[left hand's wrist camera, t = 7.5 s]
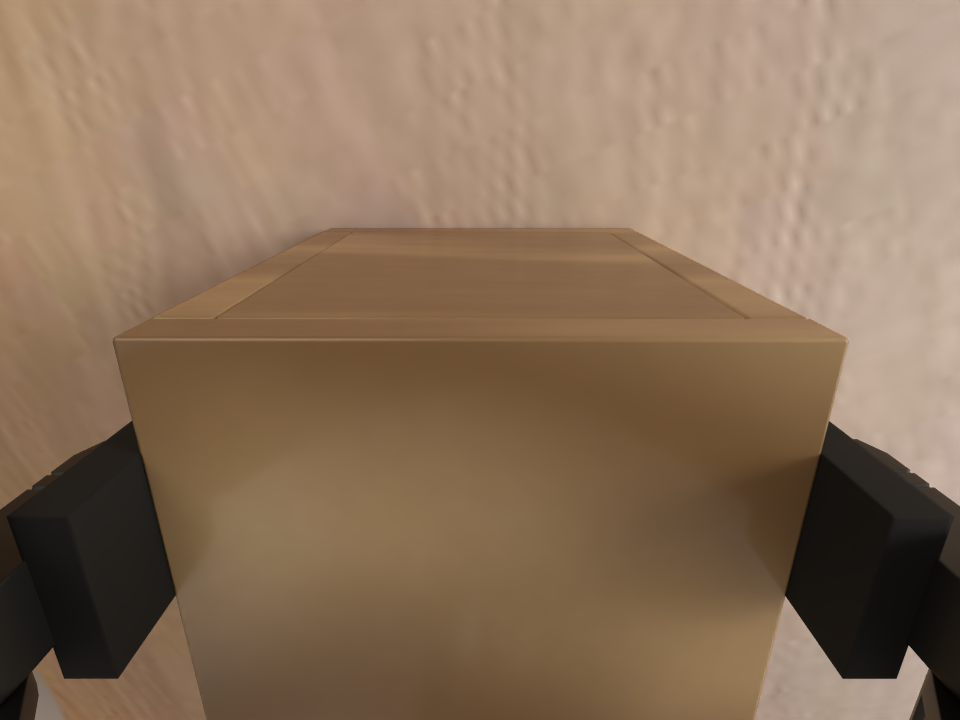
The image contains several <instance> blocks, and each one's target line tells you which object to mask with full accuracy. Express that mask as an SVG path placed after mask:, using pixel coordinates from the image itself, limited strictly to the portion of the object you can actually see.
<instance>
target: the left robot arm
mask: <svg viewBox="0 0 960 720" xmlns="http://www.w3.org/2000/svg"><path fill="white" fill-rule="evenodd" d="M51 473H52V474H51V475H47V476H45V477H44V478H43V479H41V480H40V481H39V482H37V483H36V484H34V485H33V486H32V490H26V491H25V492H24V493H22V494H21V495H20V496H18V497H17V498H16V499H14V500H13V501H11V502H10V503H9V504H7V505H6V506H5V507H3V508H2V509H1V510H0V720H34V719H35V713H36V707H37V702H38V696H39V695H38V688H37V683H36V680H35V678H34V675H33V672H32V670H33V669H34V668H35V667H36V666H37V665H38V664H39V662H40V661H41V660H42V659H43V658H44V657H45V656H46V654H47V653H48V652H49V651H50V650H51V649H52V648H54V651H55V654H56V657H57V660H58V662H59V665H60V668H61V671H62V674H63V676H64V679H118V678H119V676H120V675H121V673H122V672H123V670H124V669H125V668H126V666H127V665H128V663H129V662H130V660H131V659H132V657H133V656H134V655H135V653H136V652H137V650H138V649H139V647H140V646H141V644H142V643H143V642H144V640H145V639H146V637H147V636H148V634H149V633H150V631H151V630H152V629H153V627H154V626H155V624H156V623H157V621H158V620H159V618H160V617H161V616H162V614H163V613H164V611H165V610H166V608H167V607H168V605H169V604H170V603H171V601H172V600H173V598H174V597H175V595H176V594H175V590H174V586H173V582H172V578H171V574H170V570H169V566H168V562H167V558H166V554H165V550H164V546H163V542H162V538H161V534H160V530H159V526H158V522H157V518H156V514H155V510H154V505H153V501H152V497H151V493H150V489H149V485H148V481H147V477H146V473H145V469H144V465H143V461H142V457H141V453H140V449H139V445H138V441H137V437H136V433H135V429H134V425H133V421H131V422H130V423H129V424H127V425H126V426H125V427H123V428H122V429H121V430H119V431H118V432H117V433H115V434H114V435H113V436H111V437H110V438H109V439H108V440H106V441H104V442H101V443H99V444H97V445H95V446H93V447H91V448H89V449H86V450H84V451H82V452H80V453H78V454H76V455H74V456H72V457H71V458H70V459H68V460H67V461H66V462H64V463H63V464H62V465H60V466H59V467H58V468H56V469H55V470H53V471H52V472H51ZM785 596H786V597H787V599H788V600H789V602H790V603H791V605H792V606H793V607H794V609H795V610H796V612H797V613H798V615H799V616H800V618H801V619H802V620H803V622H804V623H805V625H806V626H807V628H808V629H809V631H810V632H811V633H812V635H813V636H814V638H815V639H816V641H817V642H818V644H819V645H820V646H821V648H822V649H823V651H824V652H825V654H826V655H827V657H828V658H829V659H830V661H831V662H832V664H833V665H834V667H835V668H836V670H837V671H838V672H839V674H840V675H841V677H842V678H843V679H897V676H898V673H899V670H900V668H901V665H902V662H903V659H904V656H905V654H906V651H907V648H908V645H909V646H910V647H911V648H912V649H913V650H914V652H915V653H916V654H917V655H918V656H919V657H920V658H921V660H922V661H923V662H924V663H925V664H926V665H927V666H928V668H929V670H928V672H927V675H926V678H925V680H924V683H923V685H922V688H921V691H920V693H919V696H918V699H917V701H916V704H915V706H914V709H913V712H912V714H911V717H910V719H909V720H960V506H959V505H957V504H956V503H955V502H953V501H952V500H950V499H949V498H948V497H946V496H945V495H944V494H942V493H941V492H939V491H938V490H937V489H935V488H930V487H929V483H927V482H926V481H924V480H923V479H922V478H920V477H919V476H918V475H916V474H915V473H910V470H909V469H908V468H907V467H905V466H904V465H903V464H901V463H900V462H898V461H897V460H896V459H894V458H893V457H892V456H890V455H889V454H888V453H886V452H883V451H881V450H879V449H877V448H875V447H873V446H870V445H868V444H866V443H864V442H862V441H860V440H858V439H852V438H851V437H849V436H848V435H847V434H845V433H844V432H843V431H841V430H840V429H839V428H837V427H836V426H835V425H833V424H832V423H831V422H830V421H829V423H828V427H827V431H826V435H825V439H824V443H823V447H822V450H821V454H820V458H819V462H818V466H817V470H816V474H815V478H814V482H813V486H812V490H811V494H810V498H809V502H808V506H807V510H806V514H805V518H804V522H803V526H802V530H801V534H800V538H799V542H798V546H797V550H796V554H795V558H794V562H793V566H792V570H791V574H790V578H789V582H788V586H787V590H786V594H785Z"/></svg>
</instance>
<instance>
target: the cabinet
mask: <svg viewBox="0 0 960 720" xmlns="http://www.w3.org/2000/svg"><path fill="white" fill-rule="evenodd" d="M113 345H114V349H115V353H116V357H117V361H118V365H119V369H120V373H121V377H122V381H123V385H124V389H125V393H126V397H127V401H128V405H129V409H130V413H131V417H132V421H133V425H134V429H135V433H136V437H137V441H138V445H139V449H140V453H141V457H142V461H143V465H144V469H145V473H146V477H147V481H148V485H149V489H150V493H151V497H152V501H153V505H154V510H155V514H156V518H157V522H158V526H159V530H160V534H161V538H162V542H163V546H164V550H165V554H166V558H167V562H168V566H169V570H170V574H171V578H172V582H173V586H174V590H175V594H176V598H177V602H178V606H179V610H180V614H181V618H182V622H183V626H184V630H185V634H186V638H187V642H188V646H189V650H190V654H191V658H192V662H193V666H194V670H195V674H196V678H197V682H198V686H199V690H200V694H201V698H202V703H203V707H204V711H205V715H206V719H207V720H754V718H755V714H756V710H757V706H758V702H759V698H760V694H761V690H762V686H763V682H764V678H765V674H766V670H767V666H768V662H769V658H770V654H771V650H772V646H773V642H774V638H775V634H776V630H777V626H778V622H779V618H780V614H781V610H782V606H783V602H784V598H785V594H786V590H787V586H788V582H789V578H790V574H791V570H792V566H793V562H794V558H795V554H796V550H797V546H798V542H799V538H800V534H801V530H802V526H803V522H804V518H805V514H806V510H807V506H808V502H809V498H810V494H811V490H812V486H813V482H814V478H815V474H816V470H817V466H818V462H819V458H820V454H821V450H822V447H823V443H824V439H825V435H826V431H827V427H828V423H829V419H830V415H831V411H832V407H833V403H834V399H835V395H836V391H837V387H838V383H839V379H840V375H841V371H842V367H843V363H844V359H845V355H846V351H847V347H848V339H847V338H846V337H844V336H842V335H840V334H838V333H836V332H834V331H833V330H831V329H829V328H827V327H825V326H823V325H821V324H819V323H817V322H815V321H813V320H810V319H806V318H805V317H803V316H801V315H799V314H797V313H796V312H794V311H792V310H790V309H788V308H786V307H784V306H782V305H780V304H778V303H776V302H774V301H772V300H770V299H768V298H766V297H764V296H762V295H760V294H758V293H756V292H754V291H752V290H750V289H748V288H746V287H744V286H742V285H741V284H739V283H737V282H735V281H733V280H731V279H729V278H727V277H725V276H723V275H721V274H719V273H717V272H715V271H713V270H711V269H709V268H707V267H705V266H703V265H701V264H699V263H697V262H695V261H693V260H691V259H689V258H687V257H686V256H684V255H682V254H680V253H678V252H676V251H674V250H672V249H670V248H668V247H666V246H664V245H662V244H660V243H658V242H656V241H654V240H652V239H650V238H648V237H646V236H644V235H642V234H640V233H638V232H636V231H634V230H633V229H630V228H331V229H329V230H327V231H325V232H322V233H320V234H318V235H316V236H314V237H312V238H310V239H308V240H306V241H304V242H302V243H300V244H298V245H296V246H294V247H292V248H290V249H288V250H286V251H284V252H282V253H280V254H278V255H276V256H274V257H272V258H270V259H268V260H266V261H264V262H262V263H260V264H258V265H256V266H254V267H252V268H250V269H248V270H246V271H244V272H242V273H240V274H238V275H236V276H234V277H232V278H230V279H228V280H226V281H224V282H222V283H220V284H218V285H216V286H214V287H212V288H210V289H208V290H206V291H205V292H203V293H201V294H199V295H197V296H195V297H193V298H191V299H189V300H187V301H185V302H183V303H181V304H179V305H177V306H175V307H173V308H171V309H169V310H167V311H165V312H163V313H161V314H159V315H157V316H155V317H153V318H152V319H150V320H148V321H146V322H144V323H142V324H140V325H138V326H136V327H134V328H132V329H130V330H128V331H126V332H124V333H122V334H120V335H118V336H116V337H114V339H113Z"/></svg>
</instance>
